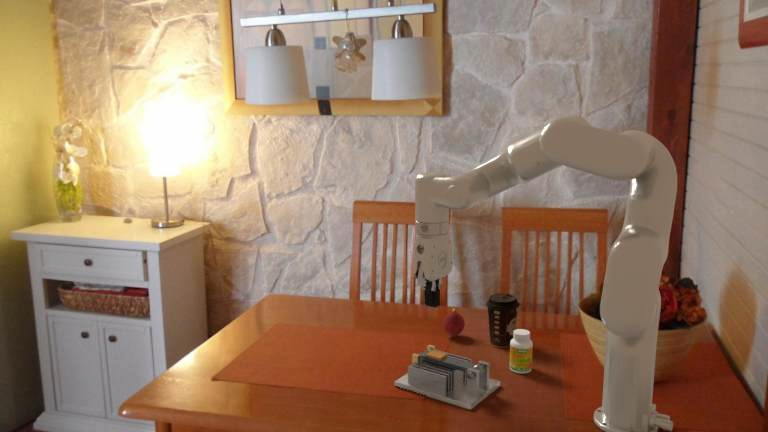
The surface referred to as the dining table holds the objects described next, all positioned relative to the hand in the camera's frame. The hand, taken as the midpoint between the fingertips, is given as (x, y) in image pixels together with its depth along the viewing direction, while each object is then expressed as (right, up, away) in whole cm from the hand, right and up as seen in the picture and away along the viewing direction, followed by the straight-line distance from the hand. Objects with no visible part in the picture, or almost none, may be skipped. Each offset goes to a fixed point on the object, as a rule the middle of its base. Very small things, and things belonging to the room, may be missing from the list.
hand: (432, 305), depth 158 cm
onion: (+8, -13, +31) cm, 34 cm away
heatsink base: (+4, -19, +2) cm, 19 cm away
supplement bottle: (+22, -17, +10) cm, 30 cm away
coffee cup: (+20, -14, +26) cm, 36 cm away
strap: (+4, -14, 0) cm, 15 cm away
